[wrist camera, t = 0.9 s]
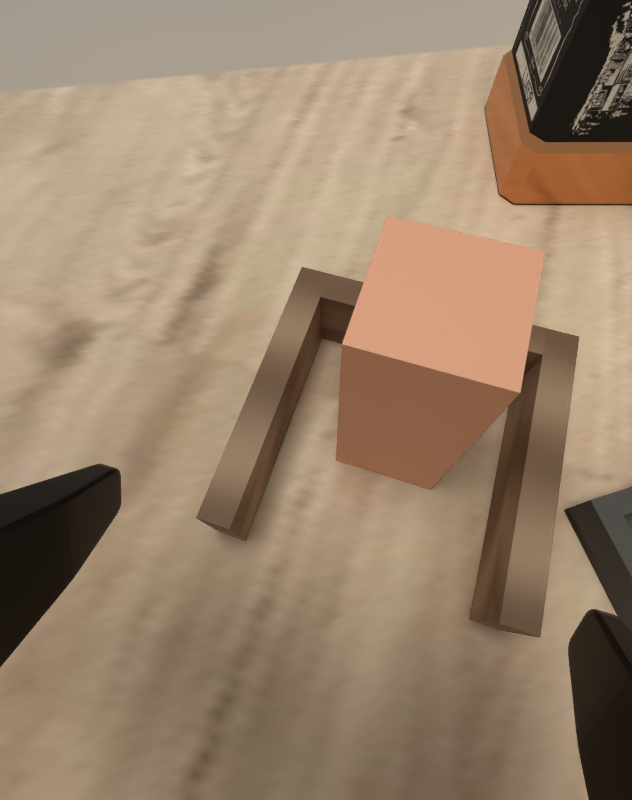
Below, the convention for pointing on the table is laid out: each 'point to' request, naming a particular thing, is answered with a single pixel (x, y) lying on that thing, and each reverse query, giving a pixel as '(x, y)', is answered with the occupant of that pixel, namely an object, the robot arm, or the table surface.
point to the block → (433, 348)
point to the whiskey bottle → (565, 105)
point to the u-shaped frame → (517, 469)
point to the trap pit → (609, 545)
